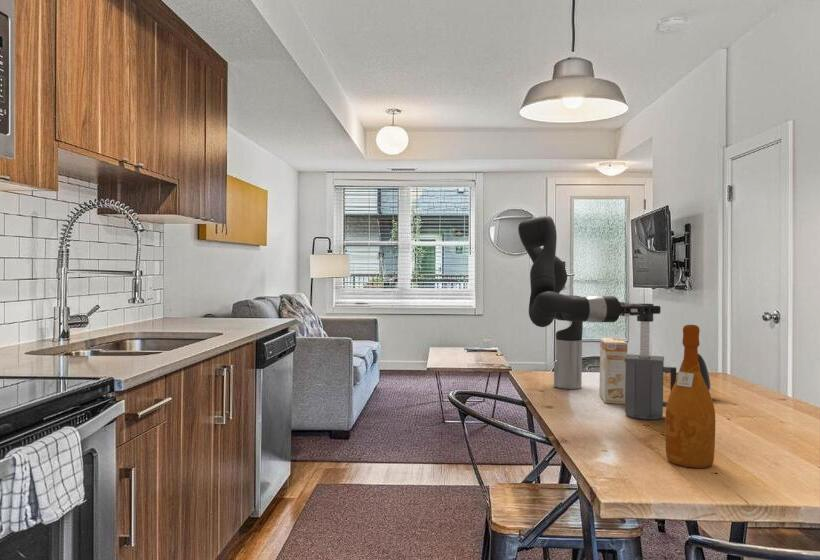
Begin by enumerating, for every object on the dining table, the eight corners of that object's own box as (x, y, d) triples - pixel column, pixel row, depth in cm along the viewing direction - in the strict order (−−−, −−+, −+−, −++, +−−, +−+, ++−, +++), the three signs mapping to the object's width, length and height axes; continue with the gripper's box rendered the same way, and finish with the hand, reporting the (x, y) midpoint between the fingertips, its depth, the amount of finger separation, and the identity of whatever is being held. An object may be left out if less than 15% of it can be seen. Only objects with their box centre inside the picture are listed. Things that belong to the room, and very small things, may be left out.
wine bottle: (656, 456, 136) (658, 322, 135) (698, 455, 136) (700, 323, 136) (679, 470, 126) (681, 326, 125) (724, 469, 127) (726, 326, 126)
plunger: (629, 384, 172) (630, 303, 172) (631, 379, 179) (632, 302, 179) (657, 386, 169) (658, 304, 169) (659, 381, 176) (660, 303, 176)
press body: (623, 417, 172) (624, 358, 172) (627, 410, 181) (627, 354, 181) (675, 423, 166) (676, 361, 166) (676, 415, 175) (676, 357, 175)
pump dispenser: (703, 395, 206) (703, 350, 206) (715, 401, 196) (716, 354, 196) (672, 394, 207) (672, 350, 207) (682, 400, 197) (683, 354, 197)
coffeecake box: (627, 404, 190) (628, 342, 190) (603, 403, 191) (604, 342, 191) (620, 395, 204) (621, 337, 204) (598, 394, 206) (599, 337, 206)
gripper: (611, 296, 164) (666, 296, 167) (587, 295, 178) (638, 295, 181) (611, 324, 164) (666, 324, 167) (587, 320, 179) (638, 320, 181)
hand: (651, 309), depth 174 cm, fingers open, 7 cm apart
